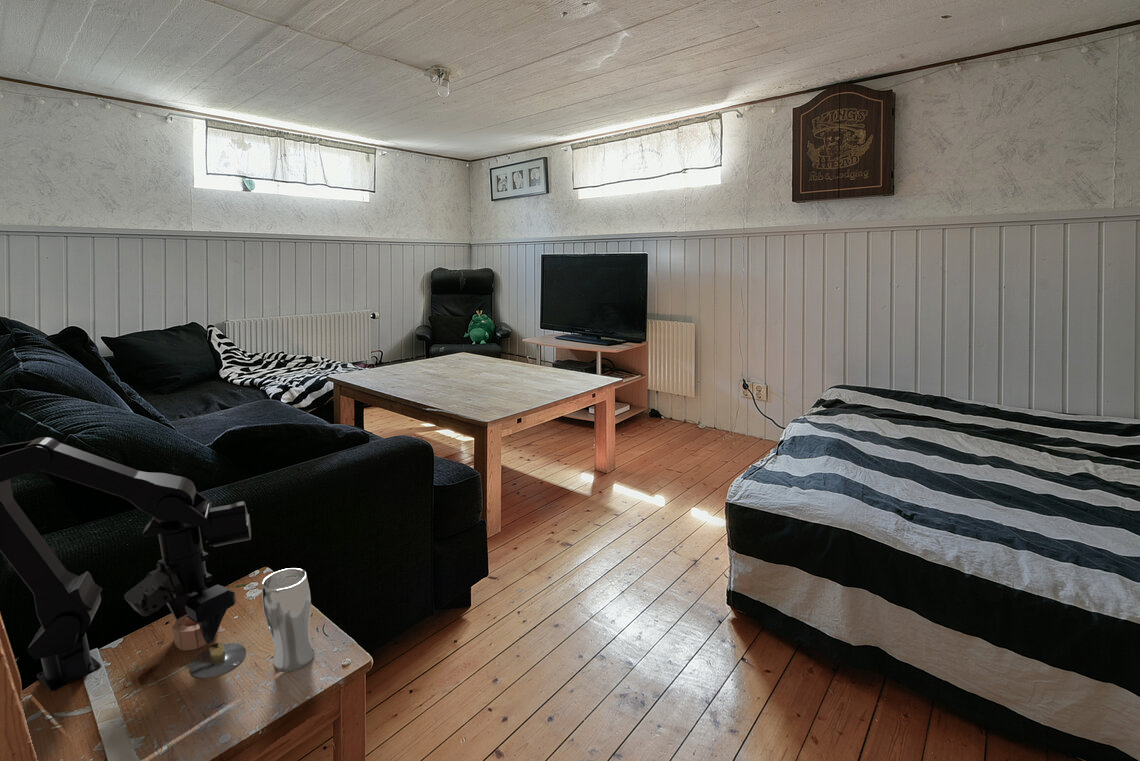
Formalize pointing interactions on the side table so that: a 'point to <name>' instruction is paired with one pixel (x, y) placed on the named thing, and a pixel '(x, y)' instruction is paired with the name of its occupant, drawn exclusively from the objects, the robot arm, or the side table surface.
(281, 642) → the beer glass
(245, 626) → the side table surface
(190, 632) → the octagonal hollow tube
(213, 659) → the hub
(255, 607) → the side table surface
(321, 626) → the side table surface
